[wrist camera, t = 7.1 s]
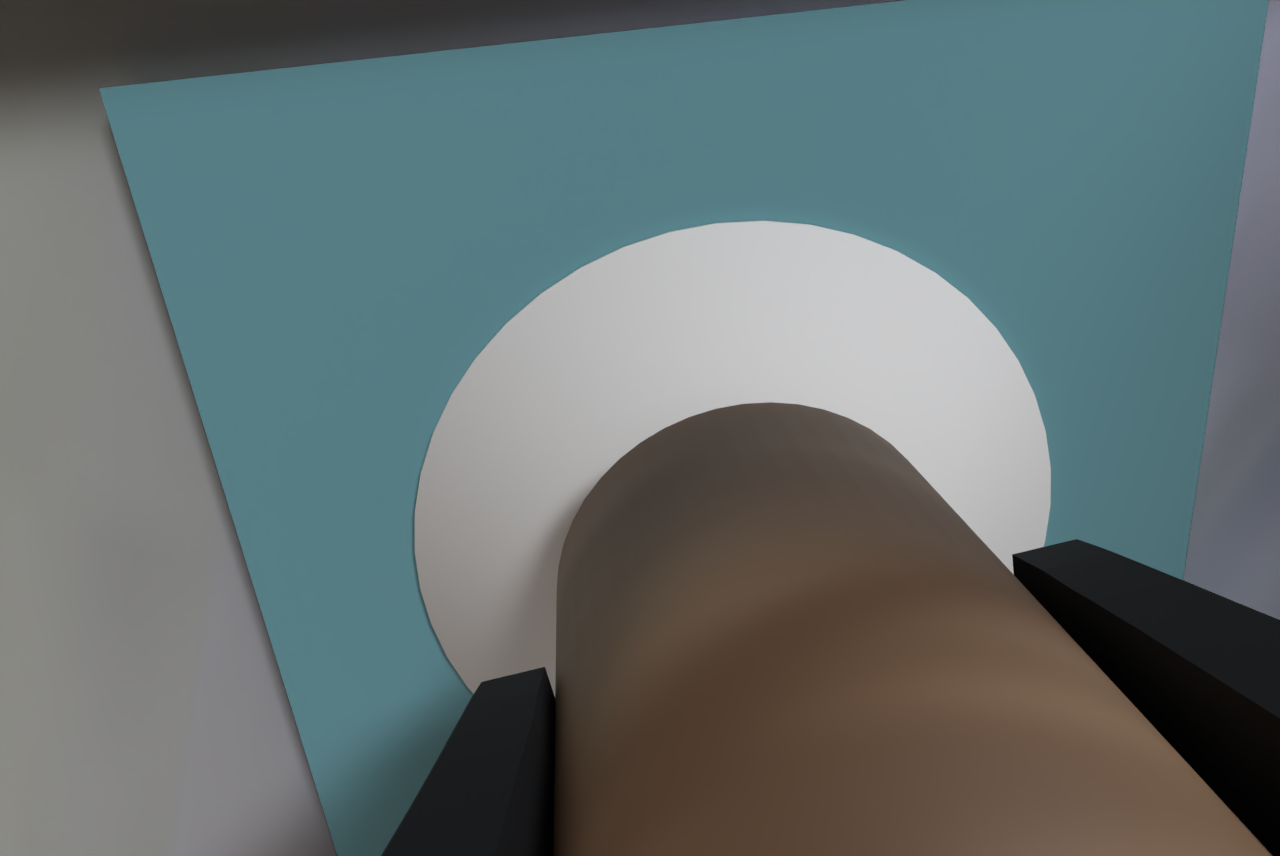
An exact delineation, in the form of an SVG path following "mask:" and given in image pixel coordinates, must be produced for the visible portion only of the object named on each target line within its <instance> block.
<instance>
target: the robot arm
mask: <svg viewBox="0 0 1280 856" xmlns="http://www.w3.org/2000/svg"><path fill="white" fill-rule="evenodd" d="M1012 559H1013V572H1014V576H1015V577H1016V578H1017V579H1018V580H1019V581H1020V582H1021V583H1022V584H1023V585H1024V587H1025V588H1026V589H1027V590H1028V591H1029V592H1030V593H1031V594H1032V595H1033V596H1034V597H1035V598H1036V600H1037V601H1038V602H1039V603H1040V604H1041V605H1042V606H1043V607H1044V608H1045V609H1046V610H1047V611H1048V613H1049V614H1050V615H1051V616H1052V617H1053V618H1054V619H1055V620H1056V621H1057V622H1058V623H1059V624H1060V626H1061V627H1062V628H1063V629H1064V630H1065V631H1066V632H1067V633H1068V634H1069V635H1070V636H1071V637H1072V639H1073V640H1074V641H1075V642H1076V643H1077V644H1078V645H1079V646H1080V647H1081V648H1082V649H1083V650H1084V652H1085V653H1086V654H1087V655H1088V656H1089V657H1090V658H1091V659H1092V660H1093V661H1094V662H1095V663H1096V665H1097V666H1098V667H1099V668H1100V669H1101V670H1102V671H1103V672H1104V673H1105V674H1106V675H1107V676H1108V678H1109V679H1110V680H1111V681H1112V682H1113V683H1114V684H1115V685H1116V686H1117V687H1118V688H1119V689H1120V691H1121V692H1122V693H1123V694H1124V695H1125V696H1126V697H1127V698H1128V699H1129V700H1130V701H1131V702H1132V704H1133V705H1134V706H1135V707H1136V708H1137V709H1138V710H1139V711H1140V712H1141V713H1142V714H1143V715H1144V717H1145V718H1146V719H1147V720H1148V721H1149V722H1150V723H1151V724H1152V725H1153V726H1154V727H1155V728H1156V730H1157V731H1158V732H1159V733H1160V734H1161V735H1162V736H1163V737H1164V738H1165V739H1166V740H1167V742H1168V743H1169V744H1170V745H1171V746H1172V747H1173V748H1174V749H1175V750H1176V751H1177V752H1178V753H1179V755H1180V756H1181V757H1182V758H1183V759H1184V760H1185V761H1186V762H1187V763H1188V764H1189V765H1190V766H1191V768H1192V769H1193V770H1194V771H1195V772H1196V773H1197V774H1198V775H1199V776H1200V777H1201V778H1202V779H1203V781H1204V782H1205V783H1206V784H1207V785H1208V786H1209V787H1210V788H1211V789H1212V790H1213V791H1214V792H1215V794H1216V795H1217V796H1218V797H1219V798H1220V799H1221V800H1222V801H1223V802H1224V803H1225V804H1226V805H1227V807H1228V808H1229V809H1230V810H1231V811H1232V812H1233V813H1234V814H1235V815H1236V816H1237V817H1238V818H1239V820H1240V821H1241V822H1242V823H1243V824H1244V825H1245V826H1246V827H1247V828H1248V829H1249V830H1250V831H1251V833H1252V834H1253V835H1254V836H1255V837H1256V838H1257V839H1258V840H1259V841H1260V842H1261V843H1262V844H1263V846H1264V847H1265V848H1266V849H1267V850H1268V851H1269V852H1270V853H1271V854H1272V855H1273V856H1280V620H1278V619H1276V618H1273V617H1271V616H1268V615H1266V614H1263V613H1261V612H1258V611H1256V610H1253V609H1251V608H1249V607H1246V606H1244V605H1241V604H1239V603H1236V602H1234V601H1231V600H1229V599H1227V598H1224V597H1222V596H1219V595H1217V594H1215V593H1212V592H1210V591H1207V590H1205V589H1202V588H1200V587H1198V586H1195V585H1193V584H1190V583H1188V582H1186V581H1183V580H1181V579H1178V578H1176V577H1173V576H1171V575H1169V574H1166V573H1164V572H1161V571H1159V570H1156V569H1154V568H1152V567H1149V566H1147V565H1144V564H1142V563H1139V562H1137V561H1134V560H1132V559H1129V558H1127V557H1124V556H1122V555H1119V554H1117V553H1114V552H1112V551H1109V550H1106V549H1104V548H1101V547H1098V546H1096V545H1093V544H1090V543H1087V542H1084V541H1081V540H1078V539H1075V540H1071V541H1066V542H1062V543H1058V544H1054V545H1050V546H1046V547H1041V548H1037V549H1033V550H1029V551H1025V552H1021V553H1016V554H1012ZM554 769H555V696H554V693H553V690H552V687H551V684H550V681H549V678H548V675H547V672H546V669H545V667H542V668H537V669H533V670H529V671H525V672H521V673H517V674H512V675H508V676H504V677H500V678H496V679H492V680H487V681H483V682H481V683H480V685H479V687H478V688H477V690H476V691H475V693H474V694H473V696H472V698H471V699H470V701H469V703H468V705H467V706H466V708H465V710H464V712H463V713H462V715H461V717H460V719H459V721H458V722H457V724H456V726H455V728H454V730H453V731H452V733H451V735H450V737H449V739H448V740H447V742H446V744H445V746H444V748H443V750H442V751H441V753H440V755H439V757H438V759H437V760H436V762H435V764H434V766H433V767H432V769H431V771H430V773H429V774H428V776H427V778H426V780H425V782H424V783H423V785H422V787H421V789H420V790H419V792H418V794H417V796H416V797H415V799H414V801H413V803H412V804H411V806H410V808H409V809H408V811H407V813H406V814H405V816H404V818H403V820H402V821H401V823H400V825H399V826H398V828H397V830H396V831H395V833H394V835H393V836H392V838H391V840H390V841H389V843H388V845H387V846H386V848H385V850H384V851H383V853H382V855H381V856H553V825H554Z"/></svg>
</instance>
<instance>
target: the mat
mask: <svg viewBox="0 0 1280 856" xmlns="http://www.w3.org/2000/svg"><path fill="white" fill-rule="evenodd" d="M1268 2H1269V0H904V1H895V2H885V3H876V4H867V5H858V6H849V7H839V8H830V9H821V10H812V11H803V12H794V13H784V14H775V15H766V16H757V17H748V18H739V19H729V20H720V21H711V22H702V23H693V24H684V25H674V26H665V27H656V28H647V29H638V30H629V31H619V32H610V33H601V34H592V35H583V36H574V37H564V38H555V39H546V40H537V41H528V42H519V43H509V44H500V45H491V46H482V47H473V48H463V49H454V50H445V51H436V52H427V53H418V54H408V55H399V56H390V57H381V58H372V59H363V60H353V61H344V62H335V63H326V64H317V65H308V66H298V67H289V68H280V69H271V70H262V71H253V72H243V73H234V74H225V75H216V76H207V77H198V78H188V79H179V80H170V81H161V82H152V83H143V84H133V85H124V86H115V87H106V88H99V91H100V94H101V97H102V101H103V104H104V107H105V110H106V113H107V117H108V120H109V123H110V126H111V130H112V133H113V136H114V139H115V142H116V146H117V149H118V152H119V155H120V158H121V162H122V165H123V168H124V171H125V175H126V178H127V181H128V184H129V187H130V191H131V194H132V197H133V200H134V203H135V207H136V210H137V213H138V216H139V220H140V223H141V226H142V229H143V232H144V236H145V239H146V242H147V245H148V249H149V252H150V255H151V258H152V261H153V265H154V268H155V271H156V274H157V277H158V281H159V284H160V287H161V290H162V294H163V297H164V300H165V303H166V306H167V310H168V313H169V316H170V319H171V322H172V326H173V329H174V332H175V335H176V339H177V342H178V345H179V348H180V351H181V355H182V358H183V361H184V364H185V367H186V371H187V374H188V377H189V380H190V384H191V387H192V390H193V393H194V396H195V400H196V403H197V406H198V409H199V413H200V416H201V419H202V422H203V425H204V429H205V432H206V435H207V438H208V441H209V445H210V448H211V451H212V454H213V458H214V461H215V464H216V467H217V470H218V474H219V477H220V480H221V483H222V486H223V490H224V493H225V496H226V499H227V503H228V506H229V509H230V512H231V515H232V519H233V522H234V525H235V528H236V532H237V535H238V538H239V541H240V544H241V548H242V551H243V554H244V557H245V560H246V564H247V567H248V570H249V573H250V577H251V580H252V583H253V586H254V589H255V593H256V596H257V599H258V602H259V605H260V609H261V612H262V615H263V618H264V622H265V625H266V628H267V631H268V634H269V638H270V641H271V644H272V647H273V650H274V654H275V657H276V660H277V663H278V667H279V670H280V673H281V676H282V679H283V683H284V686H285V689H286V692H287V696H288V699H289V702H290V705H291V708H292V712H293V715H294V718H295V721H296V724H297V728H298V731H299V734H300V737H301V741H302V744H303V747H304V750H305V753H306V757H307V760H308V763H309V766H310V769H311V773H312V776H313V779H314V782H315V786H316V789H317V792H318V795H319V798H320V802H321V805H322V808H323V811H324V814H325V818H326V821H327V824H328V827H329V831H330V834H331V837H332V840H333V843H334V847H335V850H336V853H337V856H381V855H382V853H383V851H384V850H385V848H386V846H387V845H388V843H389V841H390V840H391V838H392V836H393V835H394V833H395V831H396V830H397V828H398V826H399V825H400V823H401V821H402V820H403V818H404V816H405V814H406V813H407V811H408V809H409V808H410V806H411V804H412V803H413V801H414V799H415V797H416V796H417V794H418V792H419V790H420V789H421V787H422V785H423V783H424V782H425V780H426V778H427V776H428V774H429V773H430V771H431V769H432V767H433V766H434V764H435V762H436V760H437V759H438V757H439V755H440V753H441V751H442V750H443V748H444V746H445V744H446V742H447V740H448V739H449V737H450V735H451V733H452V731H453V730H454V728H455V726H456V724H457V722H458V721H459V719H460V717H461V715H462V713H463V712H464V710H465V708H466V706H467V705H468V703H469V701H470V699H471V698H472V696H473V694H474V693H475V691H476V690H477V688H478V687H479V685H480V683H481V682H483V681H487V680H492V679H496V678H500V677H504V676H508V675H512V674H517V673H521V672H525V671H529V670H533V669H537V668H542V667H545V669H546V672H547V675H548V678H549V681H550V684H551V687H552V690H553V693H554V696H555V676H556V601H557V578H558V566H559V562H560V557H561V553H562V549H563V544H564V541H565V539H566V536H567V534H568V531H569V529H570V526H571V523H572V521H573V519H574V517H575V515H576V514H577V512H578V510H579V508H580V507H581V505H582V503H583V501H584V499H585V498H586V497H587V495H588V494H589V493H590V491H591V490H592V489H593V487H594V486H595V485H596V483H597V482H598V481H599V479H600V478H601V477H602V476H603V475H604V474H605V473H606V472H607V471H608V470H609V469H610V468H611V467H612V466H613V465H614V464H615V463H616V462H617V461H618V460H619V459H620V458H621V457H623V456H624V455H625V454H626V453H628V452H629V451H630V450H632V449H633V448H634V447H635V446H637V445H638V444H639V443H640V442H642V441H644V440H645V439H647V438H649V437H650V436H652V435H654V434H655V433H657V432H659V431H660V430H662V429H664V428H666V427H668V426H670V425H673V424H675V423H677V422H679V421H681V420H684V419H686V418H688V417H691V416H694V415H697V414H701V413H704V412H707V411H710V410H714V409H717V408H723V407H728V406H734V405H740V404H749V403H767V402H774V403H788V404H800V405H804V406H809V407H814V408H819V409H824V410H827V411H830V412H833V413H836V414H838V415H841V416H844V417H847V418H850V419H851V420H853V421H855V422H857V423H859V424H861V425H863V426H865V427H867V428H869V429H871V430H872V431H874V432H875V433H877V434H878V435H879V436H881V437H882V438H884V439H885V440H886V441H888V442H889V443H891V444H892V445H893V446H894V447H895V448H896V449H897V450H898V451H899V452H900V453H901V454H902V455H903V456H904V457H905V458H906V459H907V460H908V461H909V462H910V463H911V464H912V465H913V466H914V467H915V468H916V469H917V471H918V472H919V473H920V474H921V475H922V476H923V477H924V478H925V479H926V480H927V481H928V482H929V484H930V485H931V486H932V487H933V488H934V489H935V490H936V491H937V492H938V493H939V494H940V495H941V497H942V498H943V499H944V500H945V501H946V502H947V503H948V504H949V505H950V506H951V507H952V508H953V510H954V511H955V512H956V513H957V514H958V515H959V516H960V517H961V518H962V519H963V520H964V521H965V523H966V524H967V525H968V526H969V527H970V528H971V529H972V530H973V531H974V532H975V533H976V534H977V536H978V537H979V538H980V539H981V540H982V541H983V542H984V543H985V544H986V545H987V546H988V548H989V549H990V550H991V551H992V552H993V553H994V554H995V555H996V556H997V557H998V558H999V559H1000V561H1001V562H1002V563H1003V564H1004V565H1005V566H1006V567H1007V568H1008V569H1009V570H1010V571H1011V572H1012V574H1013V575H1014V572H1013V559H1012V554H1016V553H1021V552H1025V551H1029V550H1033V549H1037V548H1041V547H1046V546H1050V545H1054V544H1058V543H1062V542H1066V541H1071V540H1075V539H1078V540H1081V541H1084V542H1087V543H1090V544H1093V545H1096V546H1098V547H1101V548H1104V549H1106V550H1109V551H1112V552H1114V553H1117V554H1119V555H1122V556H1124V557H1127V558H1129V559H1132V560H1134V561H1137V562H1139V563H1142V564H1144V565H1147V566H1149V567H1152V568H1154V569H1156V570H1159V571H1161V572H1164V573H1166V574H1169V575H1171V576H1173V577H1176V578H1178V579H1181V580H1183V576H1184V569H1185V563H1186V556H1187V549H1188V542H1189V536H1190V529H1191V522H1192V515H1193V509H1194V502H1195V495H1196V488H1197V482H1198V475H1199V468H1200V461H1201V455H1202V448H1203V441H1204V434H1205V428H1206V421H1207V414H1208V407H1209V401H1210V394H1211V387H1212V380H1213V374H1214V367H1215V360H1216V353H1217V347H1218V340H1219V333H1220V326H1221V320H1222V313H1223V306H1224V299H1225V293H1226V286H1227V279H1228V272H1229V266H1230V259H1231V252H1232V245H1233V239H1234V232H1235V225H1236V218H1237V212H1238V205H1239V198H1240V191H1241V185H1242V178H1243V171H1244V164H1245V158H1246V151H1247V144H1248V137H1249V131H1250V124H1251V117H1252V110H1253V104H1254V97H1255V90H1256V83H1257V77H1258V70H1259V63H1260V56H1261V50H1262V43H1263V36H1264V29H1265V23H1266V16H1267V9H1268Z"/></svg>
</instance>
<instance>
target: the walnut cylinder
mask: <svg viewBox="0 0 1280 856" xmlns="http://www.w3.org/2000/svg"><path fill="white" fill-rule="evenodd" d="M553 856H1273V855H1272V854H1271V853H1270V852H1269V851H1268V850H1267V849H1266V848H1265V847H1264V846H1263V844H1262V843H1261V842H1260V841H1259V840H1258V839H1257V838H1256V837H1255V836H1254V835H1253V834H1252V833H1251V831H1250V830H1249V829H1248V828H1247V827H1246V826H1245V825H1244V824H1243V823H1242V822H1241V821H1240V820H1239V818H1238V817H1237V816H1236V815H1235V814H1234V813H1233V812H1232V811H1231V810H1230V809H1229V808H1228V807H1227V805H1226V804H1225V803H1224V802H1223V801H1222V800H1221V799H1220V798H1219V797H1218V796H1217V795H1216V794H1215V792H1214V791H1213V790H1212V789H1211V788H1210V787H1209V786H1208V785H1207V784H1206V783H1205V782H1204V781H1203V779H1202V778H1201V777H1200V776H1199V775H1198V774H1197V773H1196V772H1195V771H1194V770H1193V769H1192V768H1191V766H1190V765H1189V764H1188V763H1187V762H1186V761H1185V760H1184V759H1183V758H1182V757H1181V756H1180V755H1179V753H1178V752H1177V751H1176V750H1175V749H1174V748H1173V747H1172V746H1171V745H1170V744H1169V743H1168V742H1167V740H1166V739H1165V738H1164V737H1163V736H1162V735H1161V734H1160V733H1159V732H1158V731H1157V730H1156V728H1155V727H1154V726H1153V725H1152V724H1151V723H1150V722H1149V721H1148V720H1147V719H1146V718H1145V717H1144V715H1143V714H1142V713H1141V712H1140V711H1139V710H1138V709H1137V708H1136V707H1135V706H1134V705H1133V704H1132V702H1131V701H1130V700H1129V699H1128V698H1127V697H1126V696H1125V695H1124V694H1123V693H1122V692H1121V691H1120V689H1119V688H1118V687H1117V686H1116V685H1115V684H1114V683H1113V682H1112V681H1111V680H1110V679H1109V678H1108V676H1107V675H1106V674H1105V673H1104V672H1103V671H1102V670H1101V669H1100V668H1099V667H1098V666H1097V665H1096V663H1095V662H1094V661H1093V660H1092V659H1091V658H1090V657H1089V656H1088V655H1087V654H1086V653H1085V652H1084V650H1083V649H1082V648H1081V647H1080V646H1079V645H1078V644H1077V643H1076V642H1075V641H1074V640H1073V639H1072V637H1071V636H1070V635H1069V634H1068V633H1067V632H1066V631H1065V630H1064V629H1063V628H1062V627H1061V626H1060V624H1059V623H1058V622H1057V621H1056V620H1055V619H1054V618H1053V617H1052V616H1051V615H1050V614H1049V613H1048V611H1047V610H1046V609H1045V608H1044V607H1043V606H1042V605H1041V604H1040V603H1039V602H1038V601H1037V600H1036V598H1035V597H1034V596H1033V595H1032V594H1031V593H1030V592H1029V591H1028V590H1027V589H1026V588H1025V587H1024V585H1023V584H1022V583H1021V582H1020V581H1019V580H1018V579H1017V578H1016V577H1015V576H1014V575H1013V574H1012V572H1011V571H1010V570H1009V569H1008V568H1007V567H1006V566H1005V565H1004V564H1003V563H1002V562H1001V561H1000V559H999V558H998V557H997V556H996V555H995V554H994V553H993V552H992V551H991V550H990V549H989V548H988V546H987V545H986V544H985V543H984V542H983V541H982V540H981V539H980V538H979V537H978V536H977V534H976V533H975V532H974V531H973V530H972V529H971V528H970V527H969V526H968V525H967V524H966V523H965V521H964V520H963V519H962V518H961V517H960V516H959V515H958V514H957V513H956V512H955V511H954V510H953V508H952V507H951V506H950V505H949V504H948V503H947V502H946V501H945V500H944V499H943V498H942V497H941V495H940V494H939V493H938V492H937V491H936V490H935V489H934V488H933V487H932V486H931V485H930V484H929V482H928V481H927V480H926V479H925V478H924V477H923V476H922V475H921V474H920V473H919V472H918V471H917V469H916V468H915V467H914V466H913V465H912V464H911V463H910V462H909V461H908V460H907V459H906V458H905V457H904V456H903V455H902V454H901V453H900V452H899V451H898V450H897V449H896V448H895V447H894V446H893V445H892V444H891V443H889V442H888V441H886V440H885V439H884V438H882V437H881V436H879V435H878V434H877V433H875V432H874V431H872V430H871V429H869V428H867V427H865V426H863V425H861V424H859V423H857V422H855V421H853V420H851V419H850V418H847V417H844V416H841V415H838V414H836V413H833V412H830V411H827V410H824V409H819V408H814V407H809V406H804V405H800V404H788V403H774V402H767V403H749V404H740V405H734V406H728V407H723V408H717V409H714V410H710V411H707V412H704V413H701V414H697V415H694V416H691V417H688V418H686V419H684V420H681V421H679V422H677V423H675V424H673V425H670V426H668V427H666V428H664V429H662V430H660V431H659V432H657V433H655V434H654V435H652V436H650V437H649V438H647V439H645V440H644V441H642V442H640V443H639V444H638V445H637V446H635V447H634V448H633V449H632V450H630V451H629V452H628V453H626V454H625V455H624V456H623V457H621V458H620V459H619V460H618V461H617V462H616V463H615V464H614V465H613V466H612V467H611V468H610V469H609V470H608V471H607V472H606V473H605V474H604V475H603V476H602V477H601V478H600V479H599V481H598V482H597V483H596V485H595V486H594V487H593V489H592V490H591V491H590V493H589V494H588V495H587V497H586V498H585V499H584V501H583V503H582V505H581V507H580V508H579V510H578V512H577V514H576V515H575V517H574V519H573V521H572V523H571V526H570V529H569V531H568V534H567V536H566V539H565V541H564V544H563V549H562V553H561V557H560V562H559V566H558V578H557V601H556V676H555V769H554V825H553Z"/></svg>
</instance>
